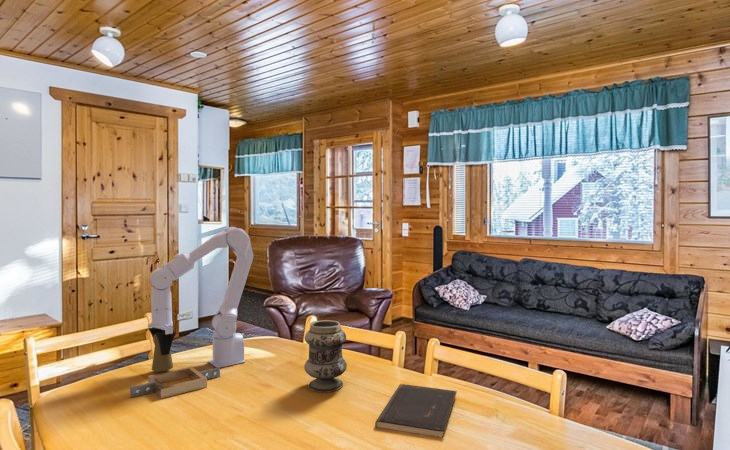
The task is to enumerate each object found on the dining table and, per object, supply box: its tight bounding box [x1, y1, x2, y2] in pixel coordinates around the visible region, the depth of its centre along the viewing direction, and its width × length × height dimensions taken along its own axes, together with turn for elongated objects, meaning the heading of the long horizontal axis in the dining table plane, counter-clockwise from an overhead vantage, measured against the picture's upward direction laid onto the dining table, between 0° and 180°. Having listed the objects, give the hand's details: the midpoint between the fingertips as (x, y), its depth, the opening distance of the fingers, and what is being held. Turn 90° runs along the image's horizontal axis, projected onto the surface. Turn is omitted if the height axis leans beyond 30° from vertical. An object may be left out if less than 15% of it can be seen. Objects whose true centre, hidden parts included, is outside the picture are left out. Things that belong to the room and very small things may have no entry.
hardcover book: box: [374, 383, 458, 437], centre depth 118 cm, size 16×23×2 cm
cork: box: [151, 334, 174, 372], centre depth 144 cm, size 6×6×11 cm
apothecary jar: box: [303, 319, 348, 393], centre depth 134 cm, size 12×12×18 cm
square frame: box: [129, 366, 221, 400], centre depth 134 cm, size 24×12×2 cm, turn 129°
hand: (162, 352), depth 144 cm, fingers closed on cork, 5 cm apart
